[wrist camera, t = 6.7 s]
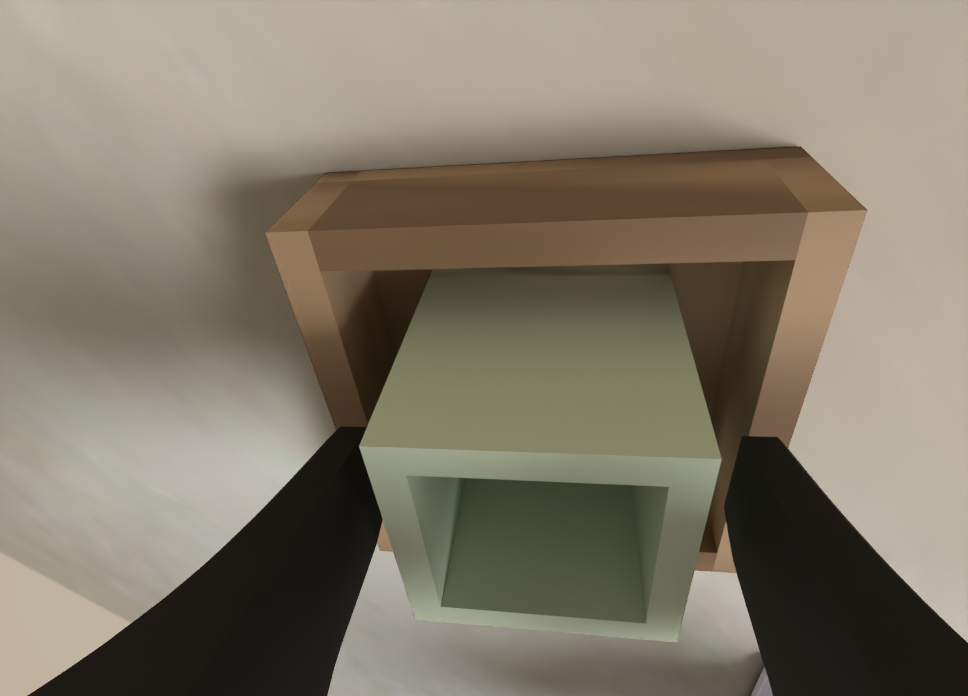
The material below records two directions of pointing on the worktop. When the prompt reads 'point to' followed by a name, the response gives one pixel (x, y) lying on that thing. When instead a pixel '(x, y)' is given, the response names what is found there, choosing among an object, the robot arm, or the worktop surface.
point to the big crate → (587, 241)
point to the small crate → (546, 451)
